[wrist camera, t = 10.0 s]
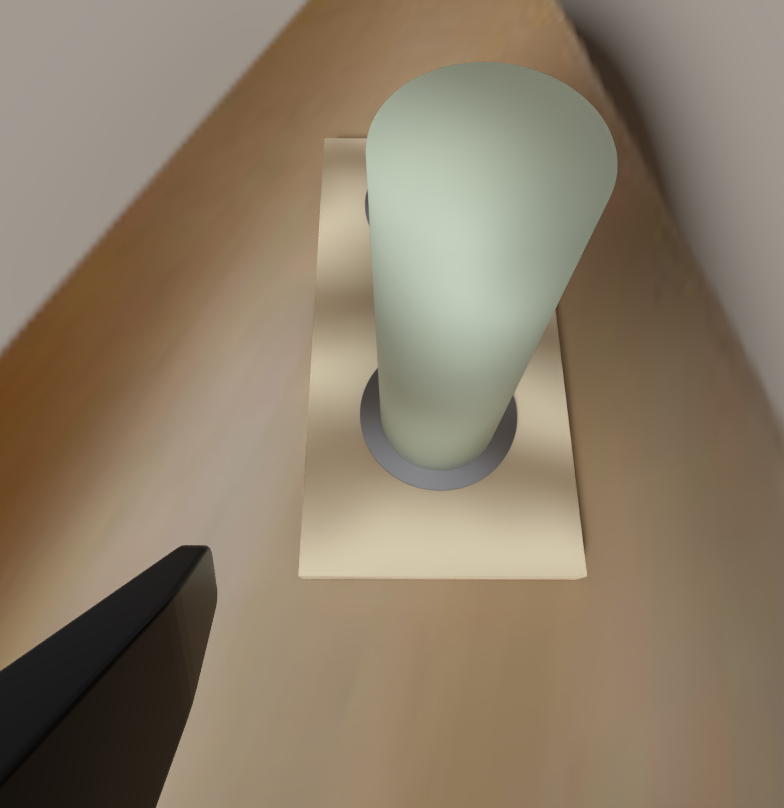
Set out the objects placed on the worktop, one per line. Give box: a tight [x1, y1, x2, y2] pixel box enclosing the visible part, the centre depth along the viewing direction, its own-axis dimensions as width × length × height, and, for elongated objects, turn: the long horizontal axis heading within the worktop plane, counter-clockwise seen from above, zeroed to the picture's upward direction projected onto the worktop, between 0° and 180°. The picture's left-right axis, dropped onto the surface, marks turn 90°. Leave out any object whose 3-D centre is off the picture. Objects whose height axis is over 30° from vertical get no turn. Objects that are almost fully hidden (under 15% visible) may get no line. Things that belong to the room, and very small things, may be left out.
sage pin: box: [366, 62, 618, 471], centre depth 16 cm, size 4×4×13 cm
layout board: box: [299, 138, 587, 580], centre depth 22 cm, size 20×10×6 cm, turn 0°
